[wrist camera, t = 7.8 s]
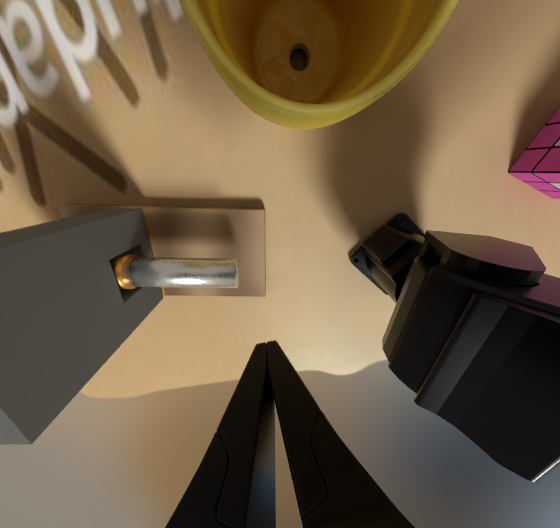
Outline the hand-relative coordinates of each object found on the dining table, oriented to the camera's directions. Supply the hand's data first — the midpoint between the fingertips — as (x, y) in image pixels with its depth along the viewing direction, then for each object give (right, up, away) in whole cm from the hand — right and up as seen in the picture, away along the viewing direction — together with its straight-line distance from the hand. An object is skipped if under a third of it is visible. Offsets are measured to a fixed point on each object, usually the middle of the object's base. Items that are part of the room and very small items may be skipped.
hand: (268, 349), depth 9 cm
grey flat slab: (-13, +4, +11) cm, 17 cm away
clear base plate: (-10, +5, +12) cm, 17 cm away
